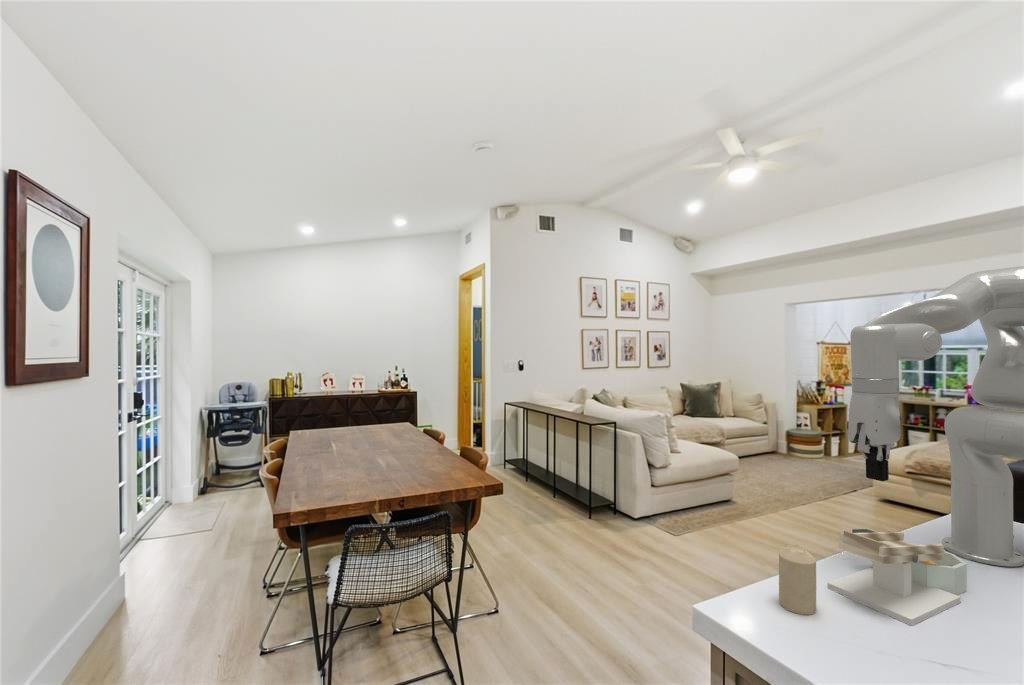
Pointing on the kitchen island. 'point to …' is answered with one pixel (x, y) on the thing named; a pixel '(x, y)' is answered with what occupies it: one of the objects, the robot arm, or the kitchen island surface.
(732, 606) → the kitchen island surface
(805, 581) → the candle
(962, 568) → the pale green bowl
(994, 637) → the kitchen island surface
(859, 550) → the lever
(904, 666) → the kitchen island surface
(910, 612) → the lever stand
